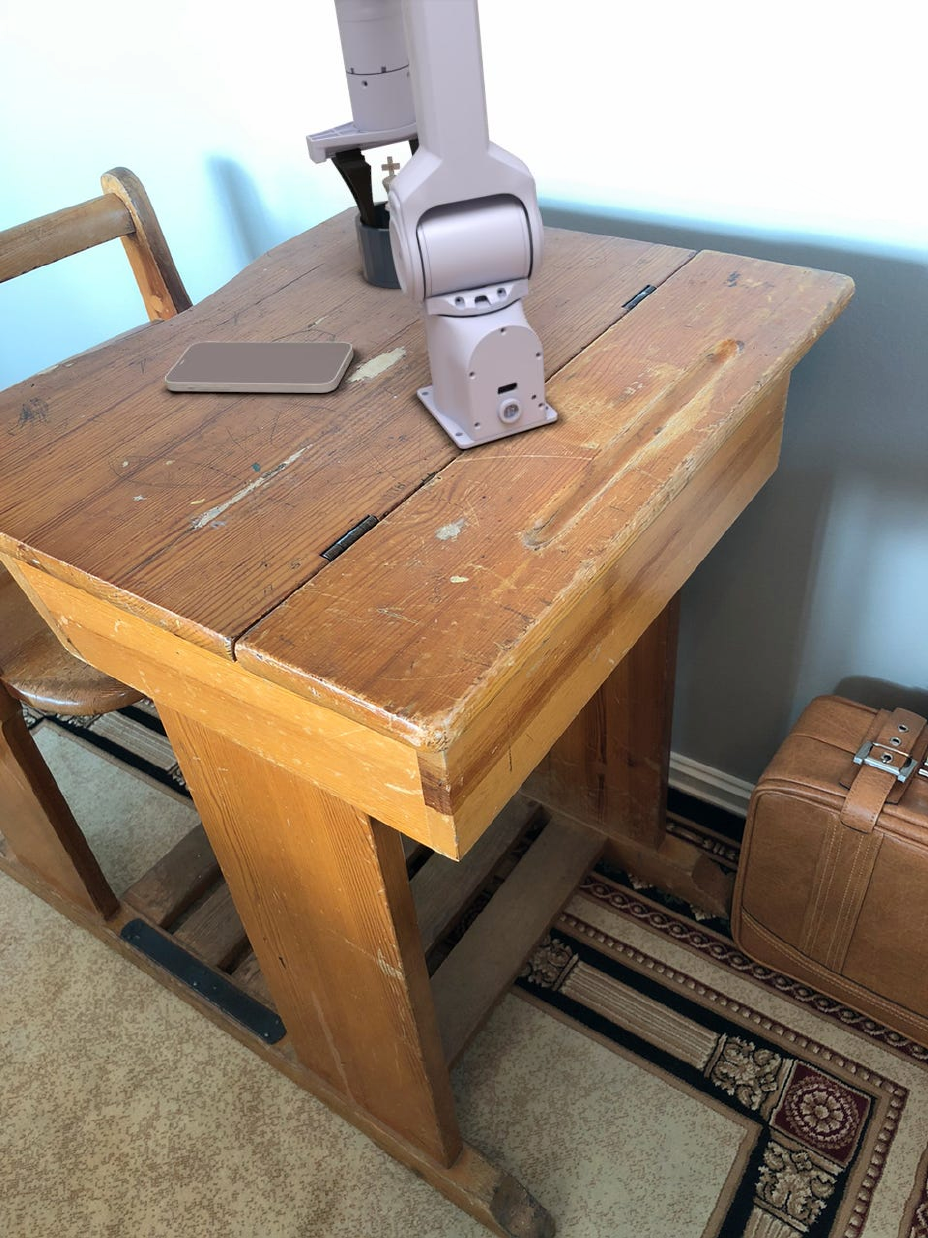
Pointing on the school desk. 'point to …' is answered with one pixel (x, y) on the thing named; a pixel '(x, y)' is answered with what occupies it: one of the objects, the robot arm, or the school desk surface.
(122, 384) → the school desk surface
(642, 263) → the school desk surface
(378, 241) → the pen holder
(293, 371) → the smartphone
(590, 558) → the school desk surface
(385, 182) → the chess piece
